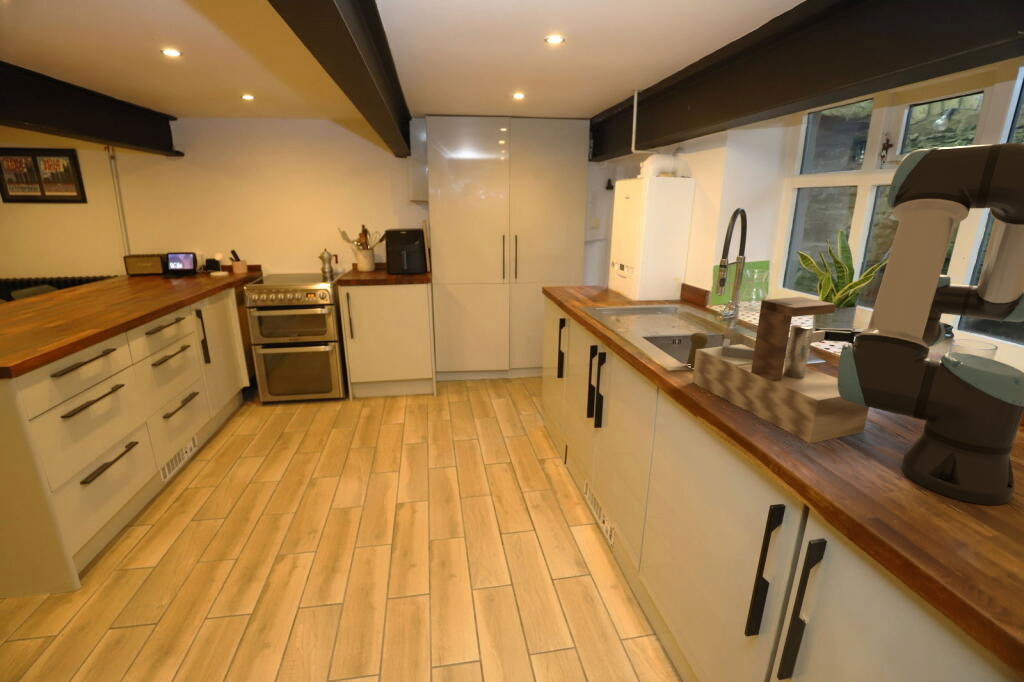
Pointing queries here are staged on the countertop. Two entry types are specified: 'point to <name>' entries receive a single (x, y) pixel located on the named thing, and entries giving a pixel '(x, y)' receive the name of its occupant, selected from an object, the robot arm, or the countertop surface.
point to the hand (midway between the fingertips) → (828, 345)
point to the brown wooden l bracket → (780, 332)
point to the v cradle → (731, 353)
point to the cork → (696, 346)
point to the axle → (798, 351)
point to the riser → (784, 399)
